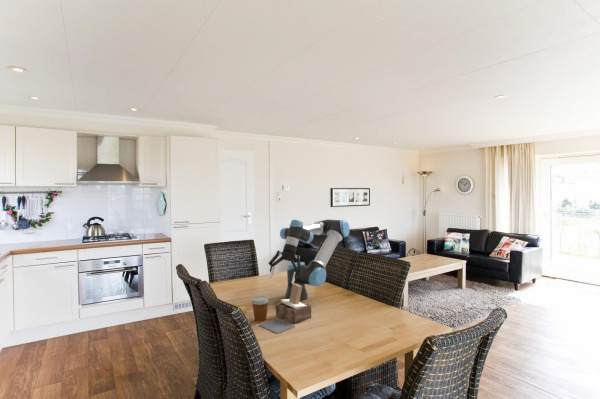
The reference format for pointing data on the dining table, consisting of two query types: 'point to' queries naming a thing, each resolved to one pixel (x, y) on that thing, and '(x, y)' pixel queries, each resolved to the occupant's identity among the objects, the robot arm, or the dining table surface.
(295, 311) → the wooden box
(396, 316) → the dining table surface
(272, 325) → the rubber mat
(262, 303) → the disposable coffee cup
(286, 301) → the cover plate
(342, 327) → the dining table surface
